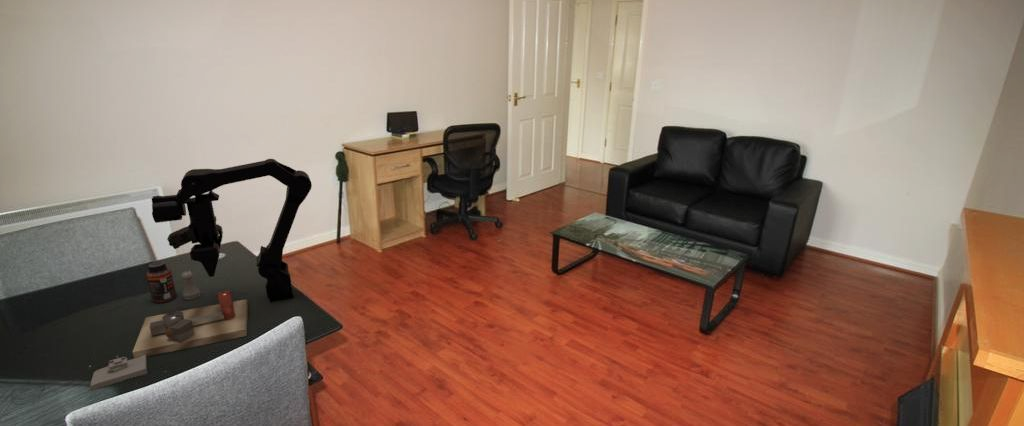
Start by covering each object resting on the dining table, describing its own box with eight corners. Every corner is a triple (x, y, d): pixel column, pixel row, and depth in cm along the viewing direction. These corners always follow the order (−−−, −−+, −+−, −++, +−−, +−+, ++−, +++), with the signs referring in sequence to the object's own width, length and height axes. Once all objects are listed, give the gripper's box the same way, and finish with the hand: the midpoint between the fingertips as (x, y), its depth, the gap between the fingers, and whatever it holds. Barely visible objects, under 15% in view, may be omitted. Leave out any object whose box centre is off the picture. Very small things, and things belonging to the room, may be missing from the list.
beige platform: (144, 351, 122) (140, 338, 120) (159, 370, 115) (156, 356, 114) (82, 375, 113) (78, 361, 112) (95, 397, 106) (90, 382, 105)
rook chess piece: (192, 301, 144) (186, 277, 141) (179, 299, 144) (173, 275, 142) (204, 294, 148) (199, 270, 145) (191, 292, 149) (186, 268, 146)
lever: (151, 337, 122) (144, 313, 120) (152, 328, 126) (146, 304, 123) (235, 318, 131) (231, 295, 129) (234, 310, 135) (230, 288, 132)
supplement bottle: (175, 301, 144) (167, 266, 140) (151, 305, 141) (141, 269, 137) (178, 292, 149) (170, 258, 145) (154, 296, 146) (145, 261, 142)
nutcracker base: (247, 305, 142) (244, 286, 140) (246, 336, 128) (242, 316, 126) (147, 323, 132) (142, 304, 130) (134, 359, 118) (127, 338, 116)
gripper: (171, 210, 136) (183, 261, 141) (160, 233, 120) (174, 289, 126) (217, 205, 141) (227, 254, 146) (212, 227, 125) (223, 281, 130)
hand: (213, 269), depth 137 cm, fingers open, 9 cm apart
